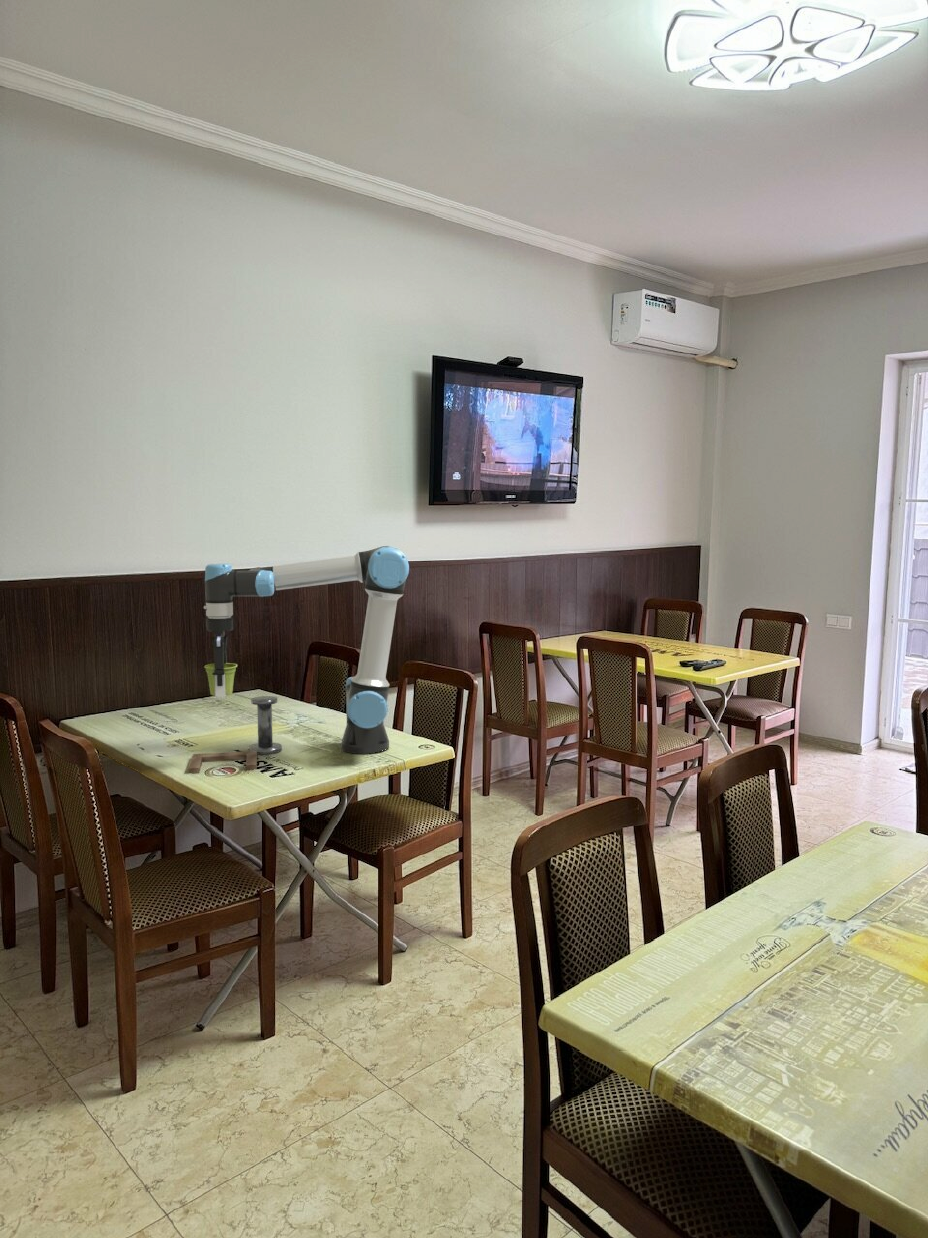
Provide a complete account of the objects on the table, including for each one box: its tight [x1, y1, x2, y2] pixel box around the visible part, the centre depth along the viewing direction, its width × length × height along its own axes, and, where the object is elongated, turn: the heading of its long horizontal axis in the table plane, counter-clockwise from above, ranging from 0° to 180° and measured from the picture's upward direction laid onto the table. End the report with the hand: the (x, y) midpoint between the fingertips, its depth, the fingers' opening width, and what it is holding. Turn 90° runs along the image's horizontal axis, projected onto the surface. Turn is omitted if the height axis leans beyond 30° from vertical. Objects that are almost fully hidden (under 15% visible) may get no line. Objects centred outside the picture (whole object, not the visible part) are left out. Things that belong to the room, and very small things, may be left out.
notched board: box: [187, 750, 258, 774], centre depth 263 cm, size 19×16×2 cm
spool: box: [248, 695, 283, 756], centre depth 278 cm, size 10×10×17 cm
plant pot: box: [204, 662, 238, 697], centre depth 260 cm, size 9×9×9 cm
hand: (221, 693), depth 261 cm, fingers closed on plant pot, 8 cm apart
